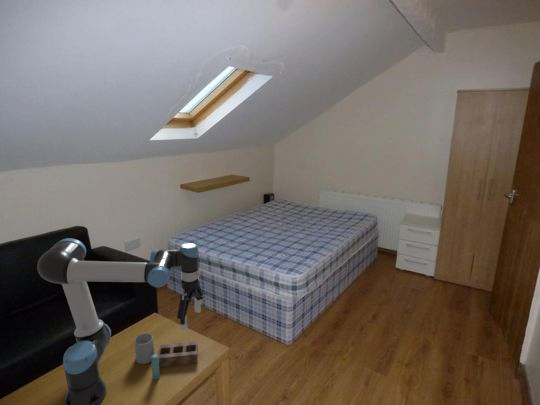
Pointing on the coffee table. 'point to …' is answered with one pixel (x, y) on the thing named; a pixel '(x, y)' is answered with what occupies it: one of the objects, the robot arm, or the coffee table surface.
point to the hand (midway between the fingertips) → (191, 320)
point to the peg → (155, 366)
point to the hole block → (178, 354)
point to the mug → (144, 348)
